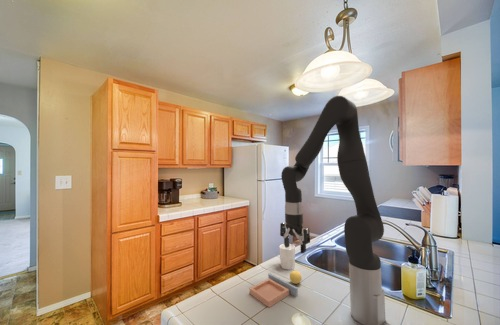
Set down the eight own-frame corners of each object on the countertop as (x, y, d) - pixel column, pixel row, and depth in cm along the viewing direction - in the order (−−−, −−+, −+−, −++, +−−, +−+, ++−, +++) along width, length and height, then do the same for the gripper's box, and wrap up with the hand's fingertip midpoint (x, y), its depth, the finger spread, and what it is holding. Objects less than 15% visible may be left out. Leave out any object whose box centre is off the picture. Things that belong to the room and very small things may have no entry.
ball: (304, 283, 88) (303, 271, 89) (296, 287, 85) (296, 275, 85) (294, 278, 92) (294, 267, 92) (287, 282, 89) (287, 271, 89)
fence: (297, 295, 80) (297, 287, 80) (296, 296, 79) (295, 288, 79) (270, 280, 92) (269, 273, 92) (268, 280, 91) (268, 273, 91)
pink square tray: (289, 294, 81) (289, 289, 81) (269, 307, 74) (269, 301, 74) (269, 283, 89) (269, 278, 89) (249, 293, 82) (249, 288, 82)
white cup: (294, 263, 107) (294, 243, 108) (296, 270, 99) (296, 249, 100) (279, 262, 108) (278, 243, 108) (280, 270, 100) (279, 249, 100)
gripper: (313, 213, 86) (314, 252, 86) (286, 208, 97) (287, 243, 97) (302, 216, 82) (303, 257, 81) (275, 210, 93) (276, 247, 92)
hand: (294, 249), depth 89 cm, fingers open, 8 cm apart
